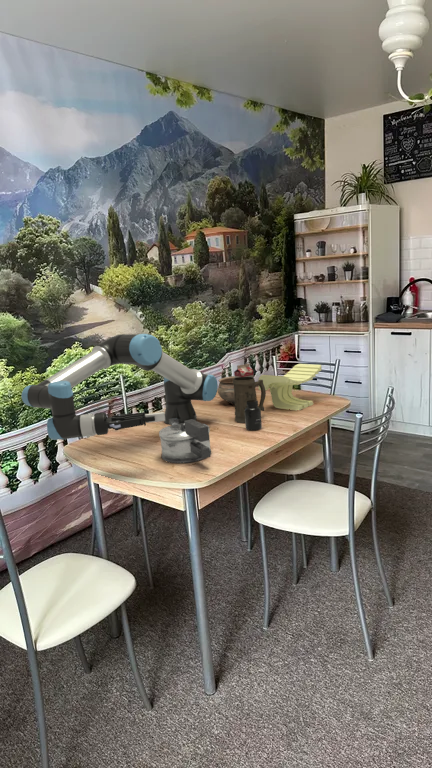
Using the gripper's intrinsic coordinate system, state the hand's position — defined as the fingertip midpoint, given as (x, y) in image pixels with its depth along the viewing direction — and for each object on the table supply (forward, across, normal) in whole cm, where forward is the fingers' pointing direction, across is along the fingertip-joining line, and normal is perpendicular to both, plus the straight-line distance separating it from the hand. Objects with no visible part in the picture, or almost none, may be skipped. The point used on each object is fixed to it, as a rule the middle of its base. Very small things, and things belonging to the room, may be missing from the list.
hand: (164, 416), depth 185 cm
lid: (+7, -9, -10) cm, 16 cm away
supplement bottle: (+36, -37, -20) cm, 55 cm away
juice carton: (+38, -72, -20) cm, 83 cm away
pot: (+7, -9, -19) cm, 22 cm away
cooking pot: (+35, -88, -20) cm, 97 cm away
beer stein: (+37, -53, -20) cm, 67 cm away
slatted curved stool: (+60, -69, -20) cm, 94 cm away
